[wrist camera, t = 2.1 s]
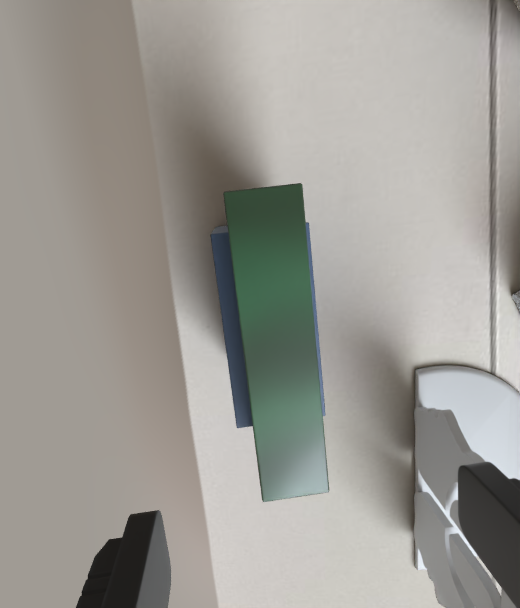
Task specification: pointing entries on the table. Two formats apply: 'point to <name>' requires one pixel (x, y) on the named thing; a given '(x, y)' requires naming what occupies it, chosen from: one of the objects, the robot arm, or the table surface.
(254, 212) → the green bar
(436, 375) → the ornament
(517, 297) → the handheld gaming console
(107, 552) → the robot arm
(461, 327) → the table surface
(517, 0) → the ceramic bowl
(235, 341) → the riser block
